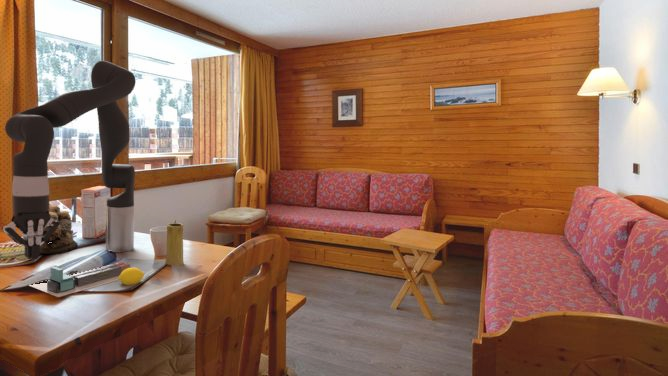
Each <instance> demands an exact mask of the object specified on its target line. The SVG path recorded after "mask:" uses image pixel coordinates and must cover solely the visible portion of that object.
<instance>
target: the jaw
mask: <svg viewBox="0 0 668 376" xmlns="http://www.w3.org/2000/svg"><path fill="white" fill-rule="evenodd" d="M122 264H126V263H125V262H123V261H120V262H115V263H113V265H111V264H108V265H109V266H107V265H104V266H105V267H103V266H100V267H101V268H99V267H96V268H97V269H95V268H92V269H93V270H91V269H89V271H87V270H84V271H85V272H83V271H80V272H81V273H79V272H76V273H77V274H75V273H72V274H73V275H71V274H69V275H70V276H72V277H73V279H75V277H77V276H80V275H84V274H88V273H92V272H96V271H100V270H104V269H108V268H112V267H116V266H118V265H122Z"/></svg>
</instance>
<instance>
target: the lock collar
mask: <svg viewBox="0 0 668 376" xmlns="http://www.w3.org/2000/svg"><path fill="white" fill-rule="evenodd" d="M69 275H70V274H65V273H64V269H63V268H59V267H57V266H51V267H50V275H48V277H49V278H48V280H54V281H57V282H60V291H65V290H68V289H72V288H73V277H72V276H69Z"/></svg>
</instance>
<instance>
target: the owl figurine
mask: <svg viewBox="0 0 668 376" xmlns="http://www.w3.org/2000/svg"><path fill="white" fill-rule="evenodd" d="M49 214H50V215H51V218H52V219H53V220H55V221H59V222H60V224H59V226H58V227H57V228H56V230H55V231H54V232H53V234H52V235H51V236H50V238H49V239H48V240H47V241H43V242H42V243H40V255H54V256H55V255H61V254H65V253H68V252H71V251H74V250H75V249H77V248H78V246H79V245H78V243H77V242H76V241H75V240H74V238H73V234H74V230H73V229H72V227H73V225H72V224H73V222H72V217H71V215H70V213H69V211H67V210H62V211H61V208H60V207H59V206H58V205H55V204H54V205H53V204H52V205H49ZM46 227H47V224H46V226H45V227H44V229H45V228H46ZM44 229H43V230H44ZM49 242H52V243H49ZM48 243H49V244H48Z"/></svg>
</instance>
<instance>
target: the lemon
mask: <svg viewBox="0 0 668 376" xmlns="http://www.w3.org/2000/svg"><path fill="white" fill-rule="evenodd" d="M144 276H145V273H144V272H143V271H142V270H141V269H139V268H137V267H130V268H127V269H125V270H124V271H122V273H121V274H120V276H119V280H118V281H120V283H121V284H122V285H125V286H134V285H137V284H139V283H140V282H141V281H142V279H143V278H144Z"/></svg>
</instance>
